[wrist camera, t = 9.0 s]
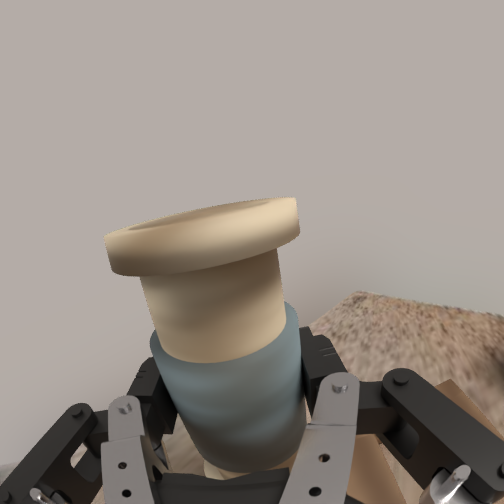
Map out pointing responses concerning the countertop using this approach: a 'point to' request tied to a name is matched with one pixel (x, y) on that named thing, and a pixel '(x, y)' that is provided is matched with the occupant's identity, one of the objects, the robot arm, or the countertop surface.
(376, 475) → the notched board
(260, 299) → the cord spool
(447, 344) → the countertop surface
